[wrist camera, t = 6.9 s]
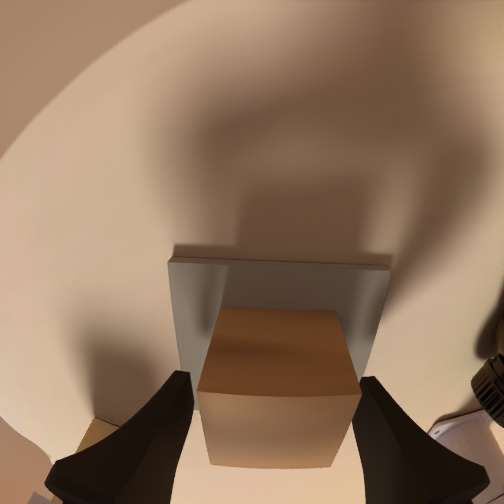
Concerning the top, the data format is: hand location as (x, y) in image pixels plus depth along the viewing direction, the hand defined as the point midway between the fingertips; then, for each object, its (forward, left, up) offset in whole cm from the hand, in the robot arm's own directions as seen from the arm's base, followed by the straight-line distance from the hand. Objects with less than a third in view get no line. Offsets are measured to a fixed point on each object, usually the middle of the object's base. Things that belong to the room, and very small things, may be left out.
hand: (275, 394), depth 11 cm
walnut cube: (0, 0, -2) cm, 2 cm away
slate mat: (0, 0, -3) cm, 3 cm away
